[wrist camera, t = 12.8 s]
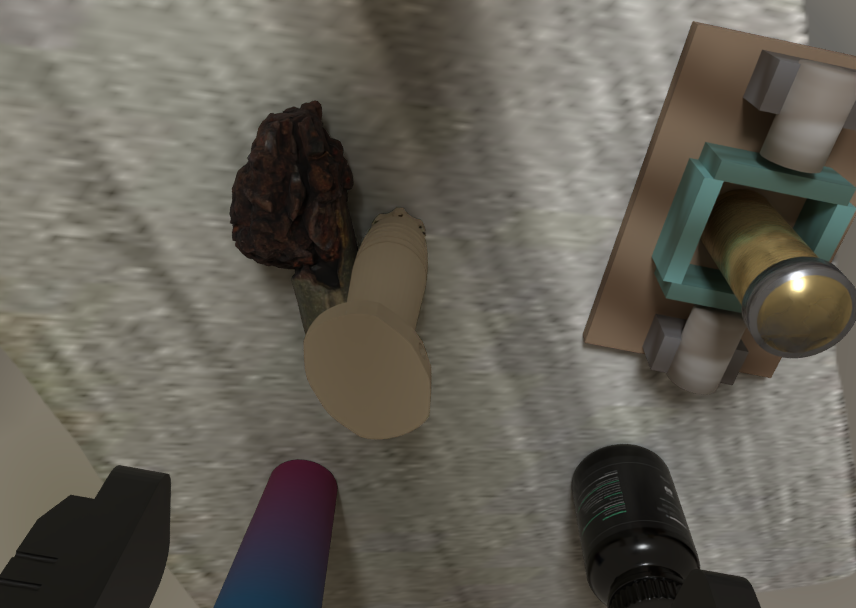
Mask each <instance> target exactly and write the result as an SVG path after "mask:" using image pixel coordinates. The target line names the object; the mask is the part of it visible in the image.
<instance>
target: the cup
mask: <svg viewBox="0 0 856 608" xmlns="http://www.w3.org/2000/svg"><path fill="white" fill-rule="evenodd" d="M336 498H337V483H336V480H335V478H334V476H333V475H332V474H331V473H330V471H328V470H327V469H326V468H325V467H323V466H321V465H320V464H317V463H315V462H312V461H307V460H291V461H287V462H284V463H282V464H280V465H279V466H278V467H276V468H275V469H274V471H273V472H272V474H271V476H270V478H269V481H268V483H267V485H266V487H265V490H264V492H263V494H262V497H261V499H260V501H259V504H258V506H257V508H256V511H255V513H254V515H253V517H252V520H251V522H250V524H249V527H248V529H247V531H246V534H245V536H244V538H243V541H242V543H241V545H240V548H239V550H238V552H237V554H236V557H235V559H234V561H233V564H232V566H231V568H230V571H229V573H228V575H227V578H226V580H225V582H224V584H223V587H222V589H221V591H220V594H219V596H218V598H217V601H216V603H215V605H214V608H322V601H323V593H324V586H325V578H326V571H327V564H328V556H329V549H330V542H331V534H332V527H333V520H334V512H335V505H336Z"/></svg>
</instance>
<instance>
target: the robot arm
mask: <svg viewBox="0 0 856 608" xmlns="http://www.w3.org/2000/svg"><path fill="white" fill-rule="evenodd" d="M170 501H171V479H170V475H169V474H167V473H161V472H155V471H150V470H144V469H138V468H133V467H127V466H121V465H118V466H116V467H115V468H114V469H113V470H112V471H111V473H110V474H109V476H108V477H107V479H106V481H105V482H104V484H103V486H102V487H101V489H100V491H99V492H98V494H97V496H96V497H95V499H92V498H86V497H80V496H74V495H70V496H68V497H67V498H66V499H64V500H63V501H62V502H60V503H59V504H58V505H56V506H55V507H53V508H52V509H51V510H49V511H48V512H47V513H46V514H44V515H43V516H41V517H40V518H39V519H38V520H37V521H36V523H35V524H34V525H33V527H32V528H31V530H30V531H29V533H28V534H27V536H26V537H25V539H24V540H23V542H22V543H21V545H20V546H19V548H18V549H17V550H16V555H15V557H12V558H11V559H10V561H9V562H8V564H7V565H6V567H5V568H4V570H3V571H2V573H1V574H0V608H149V607H150V605H151V603H152V600H153V598H154V596H155V593H156V591H157V589H158V587H159V584H160V581H161V579H162V575H163V573H164V569H165V566H166V562H167V557H168V552H169V544H170ZM670 608H761V607H760V604H759V602H758V599H757V597H756V594H755V591H754V589H753V587H752V585H751V584H750V582H749V581H748V580H747V579H746V578H744V577H740V576H734V575H728V574H723V573H717V572H711V571H706V570H700V569H694V570H692V571H691V572H690V573H689V574H688V576H687V577H686V579H685V581H684V583H683V585H682V586H681V588H680V590H679V592H678V594H677V596H676V598H675V599H674V601H673V603H672V605H671V607H670Z"/></svg>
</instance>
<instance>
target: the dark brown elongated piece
mask: <svg viewBox="0 0 856 608" xmlns="http://www.w3.org/2000/svg"><path fill="white" fill-rule="evenodd" d="M321 120H322V106H321V104H320V103H319V102H318V101H312V102H310V103H304V104H302V105H301V108H299V109H298V108H296V107H291V108H287V109H286V110H285V111H283V113H277V114H274V113H270V114H269V115H268V116H267V118H266V119H265V120H264V121H263V122H262V123H261V125H260V126H259V128H258V132H257V136H256V139H255V140H254V141H253V143H252V148H251V153H250V155H249V156H248V158H247V159H248V160H249V161H248V163H247V164H246V165H245V166H243V167H242V168H241V169H240V170H238V172H237V175H236V179H235V183H234V185H233V187H232V204H231V207H230V217H231V221H230V224H232V225H233V230H232V239H233V241H236V243H235V246H236V247H237V248H238V249H239V250H240V252H241V253H242V254H243V255H245V256H246V257H247V258H250V259H253V260H254V261H256V262H257V263H260V264H264V265H266V266H276V267H278V268H284V269H295V274H294V275H293V276H292V278H291V280H292V284H293V287H294V291H295V295H296V298H297V302H298V306H299V310H300V315H301V319H302V323H303V327H304V331H305V334H306V333H307V331H308V329H309V327H310V326H311V324H312V323H313V321H314V320H315V319H316V318H317V317H318V316H319V315H320V314H321V313H323V312H324V311H326V310H327V309H329V308H332V307H334V306H336V305H338V304H342V303H345V302H347V298H348V292H349V287H350V281H351V275H352V269H353V266H354V262H355V259H356V256H357V253H358V246H357V242H356V238H355V234H354V230H353V226H352V222H351V218H350V214H349V210H348V205H347V201H348V196H347V190H349V189H351V188H352V186H353V177H352V172H351V170H350V168H349V165H348V164H347V160H346V159H345V158H344V156H343V146H342V144H341V142H340V141H339V140H336V139H332V138H330V136H329V134H328V132H327V131H326V129H325V128H324V127H322V126H323V123H322V121H321Z"/></svg>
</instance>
